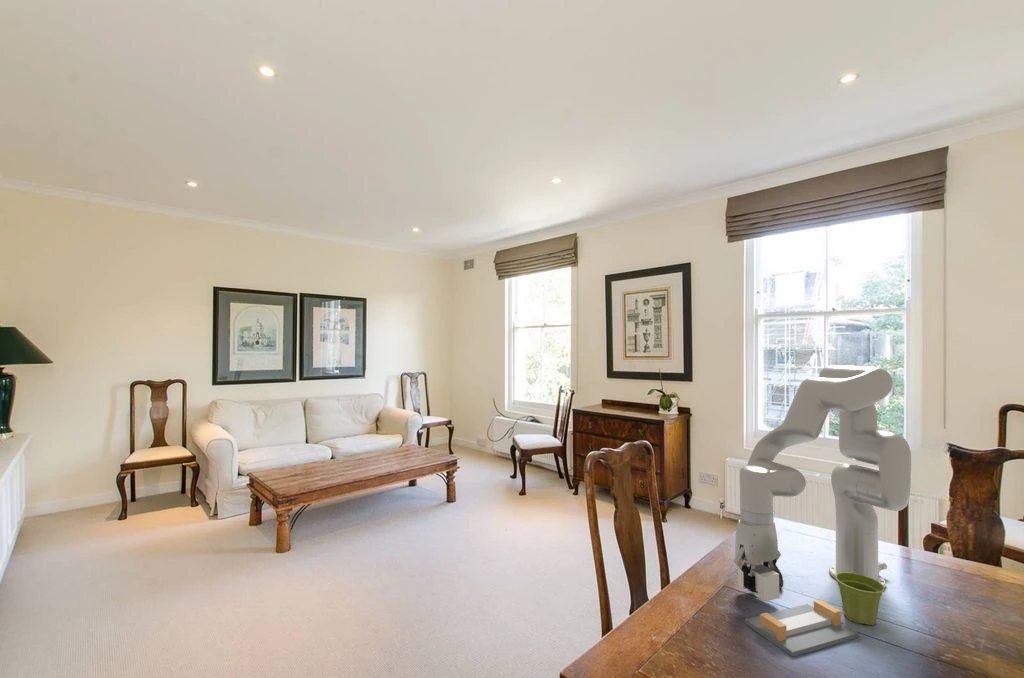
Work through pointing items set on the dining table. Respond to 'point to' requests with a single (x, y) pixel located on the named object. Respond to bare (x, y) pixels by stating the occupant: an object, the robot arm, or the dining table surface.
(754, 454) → the robot arm
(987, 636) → the dining table surface
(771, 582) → the block
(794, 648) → the rail board
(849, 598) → the plant pot
